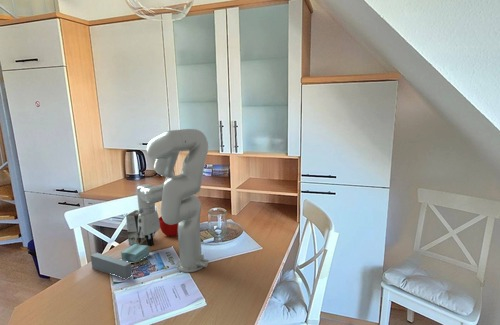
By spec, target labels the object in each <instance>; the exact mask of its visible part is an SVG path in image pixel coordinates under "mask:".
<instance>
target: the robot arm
mask: <svg viewBox="0 0 500 325" xmlns="http://www.w3.org/2000/svg"><path fill="white" fill-rule="evenodd" d="M185 151H189V152H188V153H187V154H186V156H185V158H184V159H183V162H182V169H181V173H180V174H178V175H176V174H175V172H174V169H175V166H176V163H177V160H178V157H179V154H180V152H185ZM208 152H209V141H208V139H207V137H206V135H205V133H204V132H202V131H201V130H199V129H197V128H183V129H173V130H168V131H166V132H163V133H161V134H159V135H158V136H157V135H156V136H155V137H154V138H151V140H150V141H149V142H148V143H147V146H146V153H147V156H148V157H149V158H150V159H151V160H155V161H154V163H153V164H154V165H153V170H154V172H156V173H157V174H158V175H160V176H163V177H165V179H164V182H163V183H162V184H158V185H154V186H153V185H152V184H151V183H150V184H148V183H144V184H140V185H138V186H137V187H136V194H137V206H138V210H139V211H138V214H139V215H138V232H139V234H140V238H146V240H145V242H146V246H149V247H153V246H155V240H154V238H155V234H156V233H157V232H158V231H159V230H161V229H160V222H159V218H160V217H162V219H163V221H164V222H165V223H166V224H169V225H173V224H176V223H178V235H177V239H178V241H177V242H178V251H179V252H178V253H179V260H178V261H177V263H176V270H178V271H180V272H182V273H193V272H194V273H195V272H197V271H200V270H202V269H203V268H207V267H208V264H209V260H208V259H205V256H204V254H203V252H202V240H201V238H202V237H201V211H202V203H201V200H200V199H199V198H198V196H196V194H198V193H199V192H200V191H201V187H202V182H203V176H204V169H205V164H206V159H207V156H208ZM159 202H161V204H160V205H161V206H160V215H161V216H160V217H159V214H158V210H156V203H159Z"/></svg>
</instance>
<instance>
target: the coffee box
mask: <svg viewBox="0 0 500 325" xmlns="http://www.w3.org/2000/svg"><path fill="white" fill-rule="evenodd" d="M138 211H139V209H135V210H134V211H132V212H130V213H128V214H126V215H125V217H126V219H125V220H126V231H127V238H128V240H127V241H128V245H129V246H132V245H134V244H139V245H142V244H143V243H144V242H146V238H140V234H139V232H138V215H139V214H138Z"/></svg>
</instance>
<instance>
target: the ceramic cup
mask: <svg viewBox="0 0 500 325" xmlns="http://www.w3.org/2000/svg"><path fill="white" fill-rule="evenodd" d="M159 222H160V229H159V230H161V232H162V234H164V235H165V236H166V237H168V238H170V237H176V236H178V223H176V224H173V225H169V224H166V223H165V222H164V221H163V219H162V217H161V216H160V217H159Z"/></svg>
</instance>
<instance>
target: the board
mask: <svg viewBox="0 0 500 325" xmlns="http://www.w3.org/2000/svg"><path fill="white" fill-rule="evenodd" d="M90 259H91V260H90V261H91V262H90V263H91V268H92V269H93V270H96V271H99V272H102V273H105V274H109V275H111V274H115V275H117V276H120V277H122V278H125V279H127V278H128V277H130V276H131V275H132V276H133V270H132V264H131V263H130V262H126V261H123V260H122V259H119V258H116V257H112V256H111V255H106V254H103V253H100V252H95V253H93V254H91V255H90ZM110 273H111V274H110ZM122 278H121V279H122ZM130 278H131V277H130ZM125 279H124V280H125ZM127 280H128V279H127Z"/></svg>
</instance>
